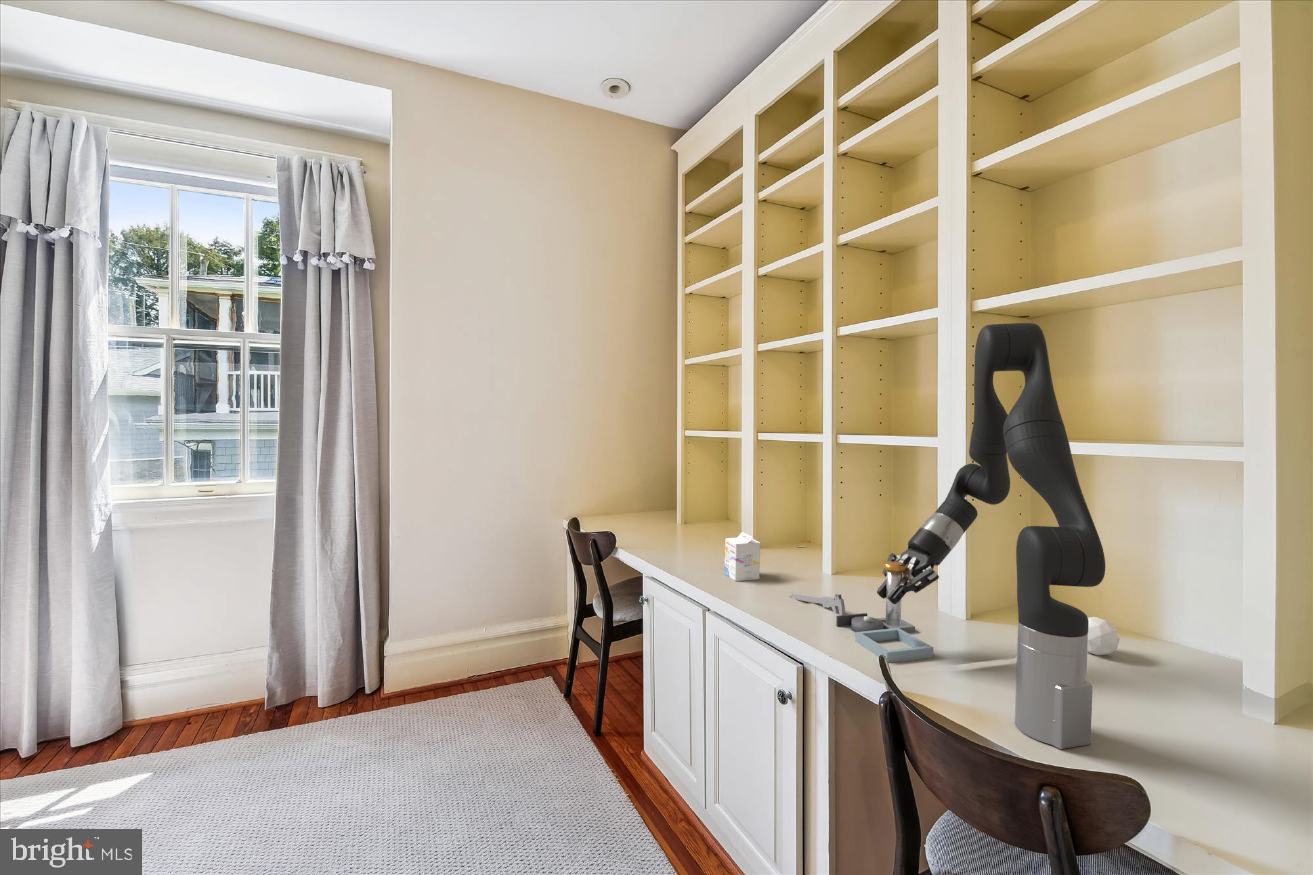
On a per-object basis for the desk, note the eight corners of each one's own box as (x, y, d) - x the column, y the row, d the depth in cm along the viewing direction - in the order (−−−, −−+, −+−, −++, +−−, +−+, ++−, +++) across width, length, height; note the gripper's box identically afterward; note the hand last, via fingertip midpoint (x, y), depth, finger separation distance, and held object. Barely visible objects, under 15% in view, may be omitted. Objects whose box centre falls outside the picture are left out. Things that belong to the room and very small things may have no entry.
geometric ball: (1103, 669, 120) (1110, 648, 116) (1063, 644, 126) (1068, 623, 122) (1123, 648, 123) (1131, 626, 118) (1083, 624, 129) (1089, 602, 124)
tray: (933, 661, 117) (933, 647, 117) (886, 667, 115) (887, 652, 115) (898, 640, 128) (898, 627, 128) (855, 645, 125) (855, 632, 125)
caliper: (845, 620, 141) (845, 595, 141) (841, 621, 141) (842, 596, 141) (791, 596, 160) (791, 574, 160) (788, 597, 159) (788, 575, 159)
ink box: (723, 574, 181) (724, 532, 181) (747, 572, 184) (748, 530, 183) (735, 581, 173) (736, 538, 172) (760, 579, 175) (760, 536, 175)
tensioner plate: (919, 637, 130) (919, 620, 130) (857, 644, 126) (858, 626, 126) (893, 623, 139) (894, 607, 139) (835, 629, 135) (835, 612, 135)
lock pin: (908, 626, 120) (910, 566, 119) (890, 628, 119) (892, 567, 118) (895, 619, 124) (896, 560, 123) (877, 620, 123) (879, 561, 122)
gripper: (903, 520, 129) (855, 577, 127) (950, 534, 115) (896, 598, 113) (922, 542, 131) (875, 598, 128) (970, 558, 117) (918, 621, 115)
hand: (885, 598), depth 121 cm, fingers closed on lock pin, 3 cm apart
